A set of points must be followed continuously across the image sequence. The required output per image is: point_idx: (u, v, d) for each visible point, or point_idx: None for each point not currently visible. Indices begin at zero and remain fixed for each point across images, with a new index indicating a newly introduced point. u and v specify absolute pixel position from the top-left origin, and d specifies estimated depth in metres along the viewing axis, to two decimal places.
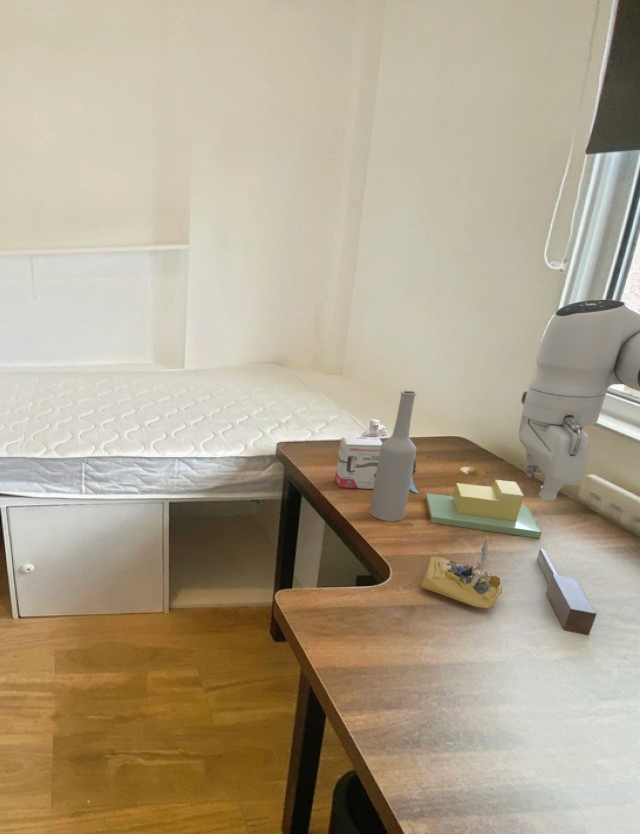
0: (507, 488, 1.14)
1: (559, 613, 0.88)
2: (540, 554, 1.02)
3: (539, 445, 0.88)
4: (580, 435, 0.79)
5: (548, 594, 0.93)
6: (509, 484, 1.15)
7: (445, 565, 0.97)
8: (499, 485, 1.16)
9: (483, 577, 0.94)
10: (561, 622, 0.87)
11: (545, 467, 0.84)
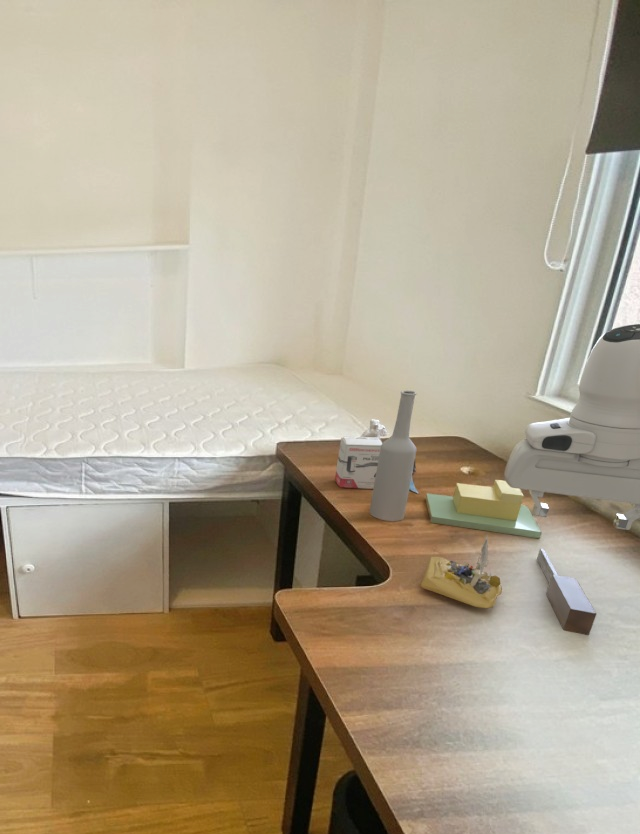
0: (507, 488, 1.14)
1: (559, 613, 0.88)
2: (540, 554, 1.02)
3: (613, 481, 0.80)
4: None
5: (548, 594, 0.93)
6: None
7: (445, 565, 0.97)
8: (499, 485, 1.16)
9: (483, 577, 0.94)
10: (561, 622, 0.87)
11: None
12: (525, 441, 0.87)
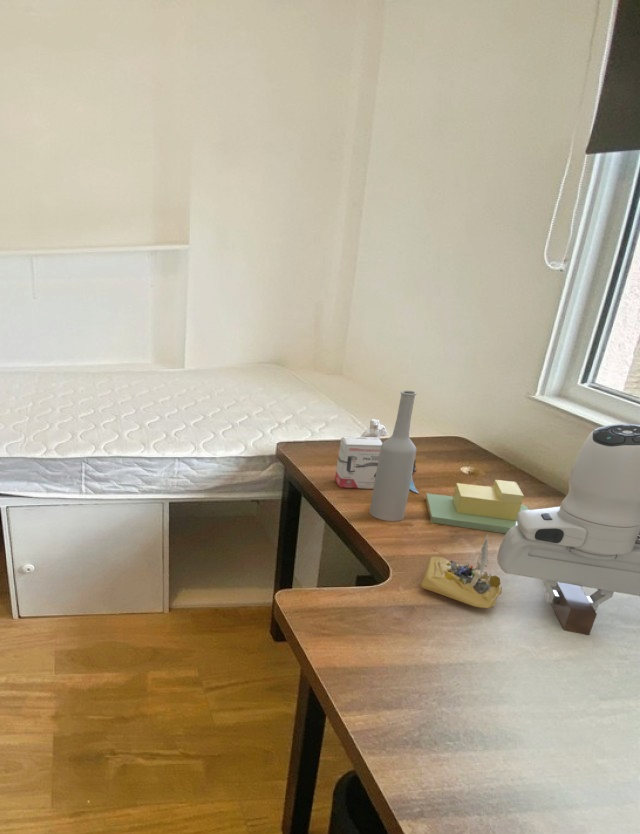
0: (507, 488, 1.14)
1: (559, 613, 0.88)
2: None
3: (602, 572, 0.83)
4: None
5: None
6: (509, 484, 1.15)
7: (445, 565, 0.97)
8: (499, 485, 1.16)
9: (483, 577, 0.94)
10: (561, 622, 0.87)
11: None
12: (517, 528, 0.89)
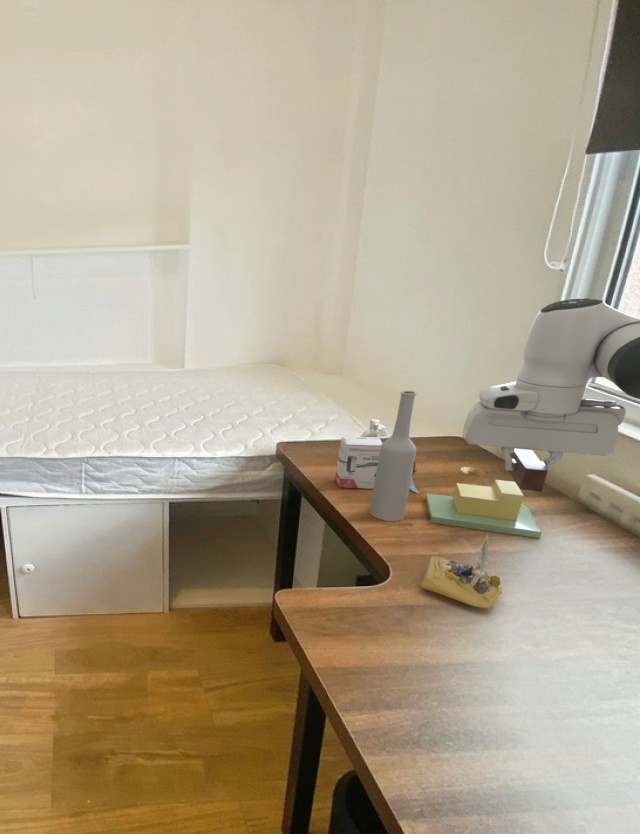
0: (507, 488, 1.14)
1: (516, 477, 0.98)
2: None
3: (552, 434, 0.94)
4: (623, 408, 0.90)
5: None
6: (509, 484, 1.15)
7: (445, 565, 0.97)
8: (499, 485, 1.16)
9: (483, 577, 0.94)
10: (518, 484, 0.97)
11: (591, 447, 0.92)
12: (480, 403, 1.00)
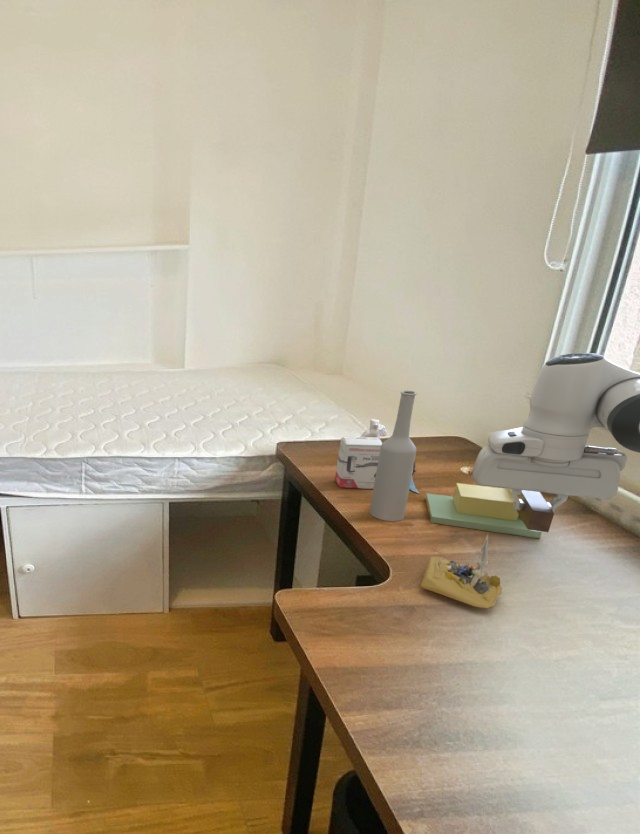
0: None
1: (524, 517, 1.04)
2: None
3: (558, 478, 1.00)
4: (625, 455, 0.96)
5: None
6: None
7: (445, 565, 0.97)
8: None
9: (483, 577, 0.94)
10: (526, 524, 1.03)
11: (594, 491, 0.98)
12: (488, 446, 1.05)
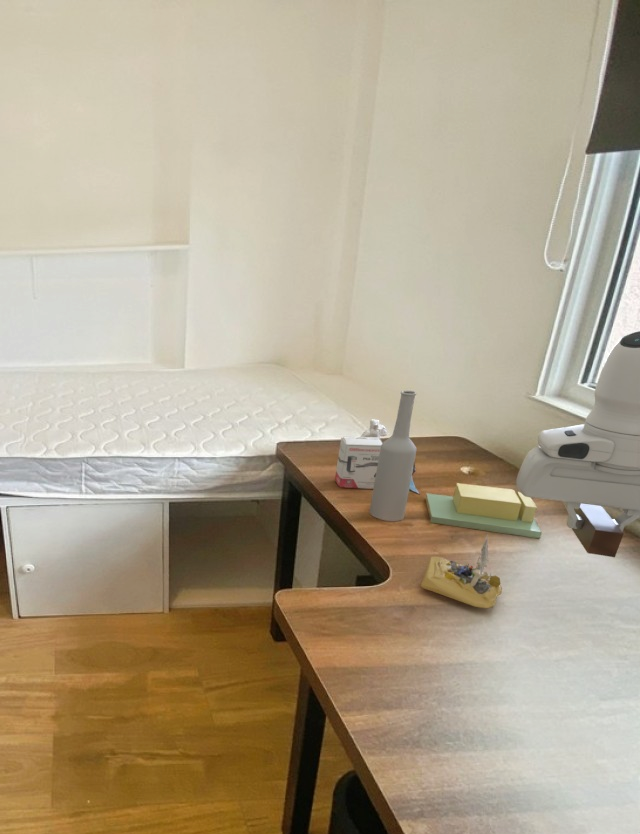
0: None
1: (582, 537, 0.83)
2: None
3: (629, 489, 0.79)
4: None
5: None
6: None
7: (445, 565, 0.97)
8: None
9: (483, 577, 0.94)
10: (585, 546, 0.82)
11: None
12: (538, 449, 0.84)
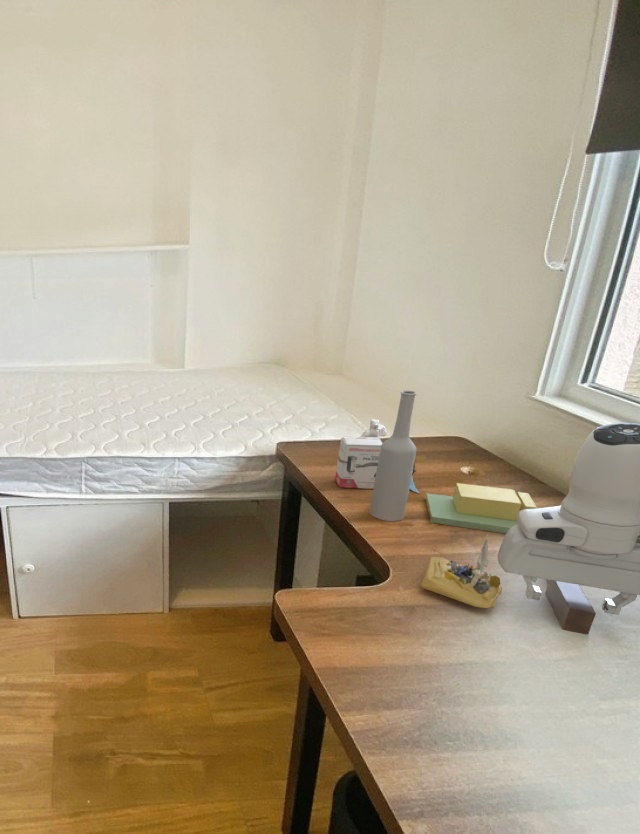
0: None
1: (558, 612, 0.88)
2: None
3: (603, 571, 0.83)
4: None
5: (547, 593, 0.93)
6: None
7: (445, 565, 0.97)
8: None
9: (483, 577, 0.94)
10: (560, 621, 0.87)
11: None
12: (518, 527, 0.89)
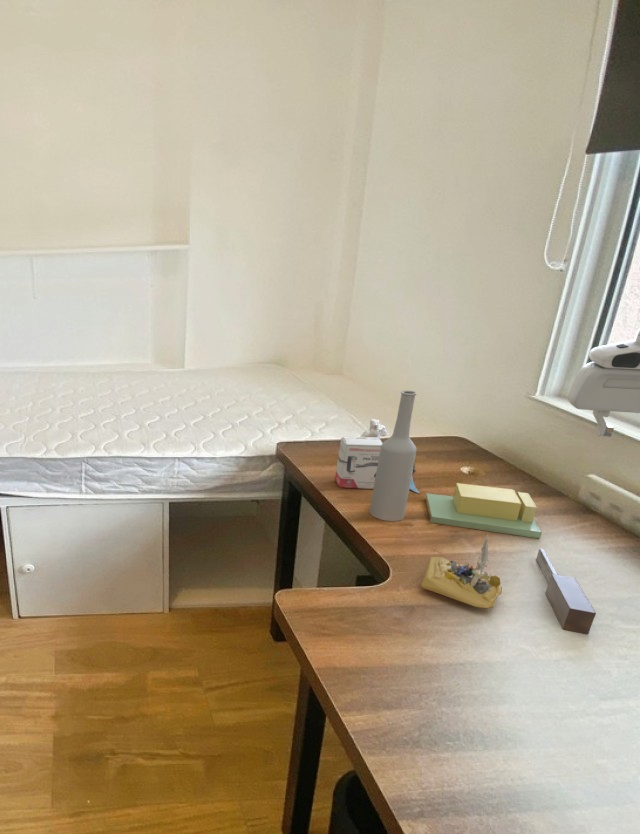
0: None
1: (558, 612, 0.88)
2: (539, 553, 1.02)
3: None
4: None
5: (547, 593, 0.93)
6: None
7: (445, 565, 0.97)
8: None
9: (483, 577, 0.94)
10: (560, 621, 0.87)
11: None
12: (590, 364, 0.91)
